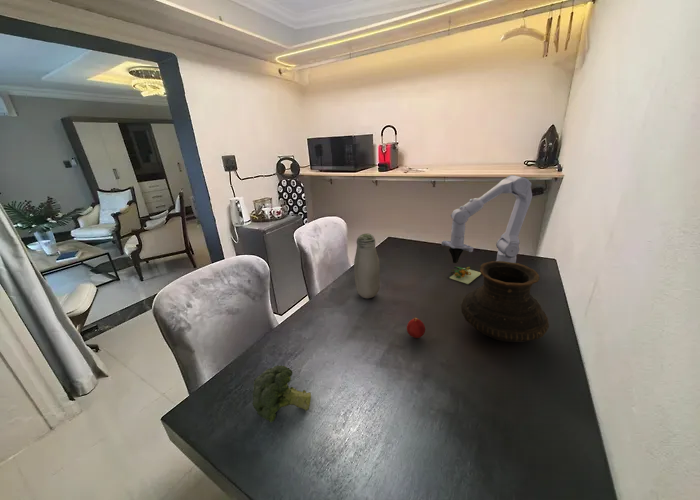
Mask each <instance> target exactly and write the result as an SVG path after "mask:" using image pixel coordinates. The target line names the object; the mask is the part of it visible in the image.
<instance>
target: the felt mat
mask: <svg viewBox="0 0 700 500" xmlns="http://www.w3.org/2000/svg"><path fill="white" fill-rule="evenodd" d="M462 268H463V269H465V268H466V267H462ZM467 271H468V272H471V275H466V274H465V275H463V276H464V277H462V276H461V278H456V276H455V274H454V273H453V274H452V275H451V276H449V279H450V280H454V281H457V282H459V283H462V284H465V285H470V284H471V283H472V282H473V281H474V280H476V279H477V278H478V277H479V276H481V275H482V274H481V273H480V271H477V270H474V269H471V268H470V269H469V270H467ZM468 274H470V273H468Z"/></svg>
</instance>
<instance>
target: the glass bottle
mask: <svg viewBox="0 0 700 500" xmlns="http://www.w3.org/2000/svg"><path fill="white" fill-rule="evenodd" d="M380 265H381V264H380V259H379V256H378V252H377V247H376V238H375V236H374V235H373V234H372V233H362V234H360V235H359V236H358V237H357V238H356V248H355V255H354V259H353V269H354V281H355V289H356V292H357V295H359V296H360V297H361V298H363V299H372V298H374V297H376V296H377V295H378V293H379V291H380V287H381V277H380V272H381V271H380V269H381V268H380V267H381V266H380Z"/></svg>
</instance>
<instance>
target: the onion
mask: <svg viewBox="0 0 700 500" xmlns="http://www.w3.org/2000/svg"><path fill="white" fill-rule="evenodd" d="M425 332H426V326H425V323H424V322H423V321H422V320H421V319H419V318H418V317H414V318H412V319H410V320H409V321H408V323H407V324H406V333H408V335H409V336H410V337H412V338H414V339H420V338H422V337H423V336H424V335H425Z"/></svg>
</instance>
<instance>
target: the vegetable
mask: <svg viewBox="0 0 700 500" xmlns="http://www.w3.org/2000/svg"><path fill="white" fill-rule="evenodd" d="M292 376H293V370H292V369H290V367H288V366H286V365H282V364H281V365H275V366H273V367H270V368H267V369H266V370H265V371H263V372H261V374H259V375H258V376H256V378H255V379H254V381H253V389H252V399H253V400H252V406H253V409H255V411H256V414H257V415H258V416H259V417H260V418H262V419H264V420H266V421H268V422H270V423H274V421H276V420H275V419H276V416H277V412H278V411H279V410H280V409H281V408H285V407H287V406H295V407H296V408H300V409H302V410H305V412H307V411H308V410H309V409H310V406H311V401H312V393H311V391H310V392H309V391H308V392H307V391H306V390H305V389H304V390H302V391H301V390H297V388H295V387H293V386H289V383H290V382H291V381H292Z"/></svg>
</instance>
